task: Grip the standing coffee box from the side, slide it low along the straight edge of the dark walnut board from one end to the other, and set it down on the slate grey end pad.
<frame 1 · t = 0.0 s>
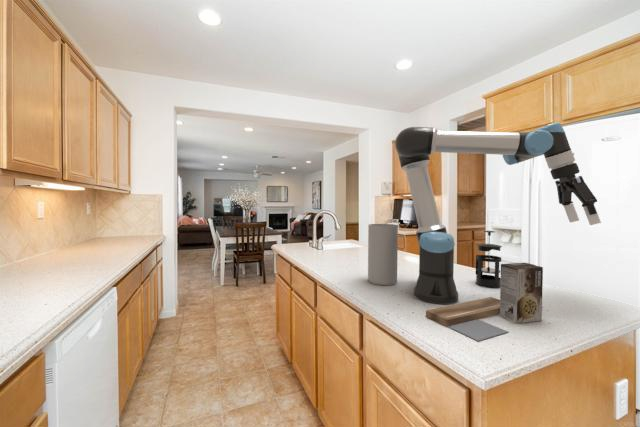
hand: (584, 222, 101), 28 cm above the worktop, tool tilted 20°, fingers open, 13 cm apart
walnut board: (471, 313, 90), on the worktop
coffee box: (519, 318, 87), on the worktop
cylinder vase: (382, 282, 126), on the worktop
french press: (487, 285, 122), on the worktop
end pad: (477, 330, 78), on the worktop
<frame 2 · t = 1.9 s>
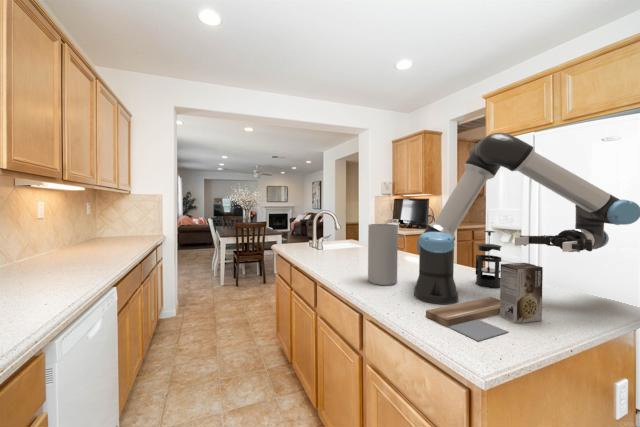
hand: (538, 244, 90), 22 cm above the worktop, tool horizontal, fingers open, 13 cm apart
nothing on the worktop moved.
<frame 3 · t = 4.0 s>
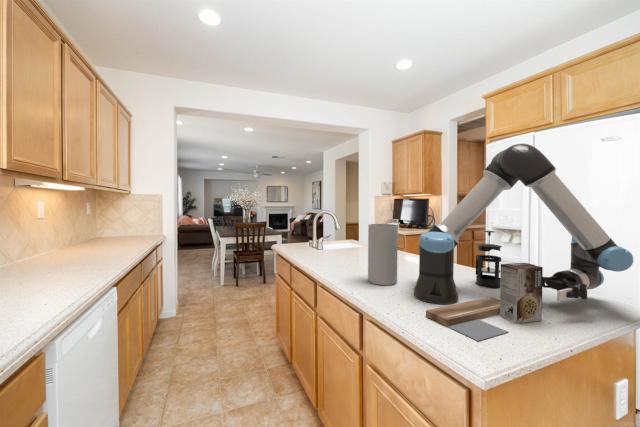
hand: (532, 289, 89), 8 cm above the worktop, tool horizontal, fingers open, 13 cm apart
nothing on the worktop moved.
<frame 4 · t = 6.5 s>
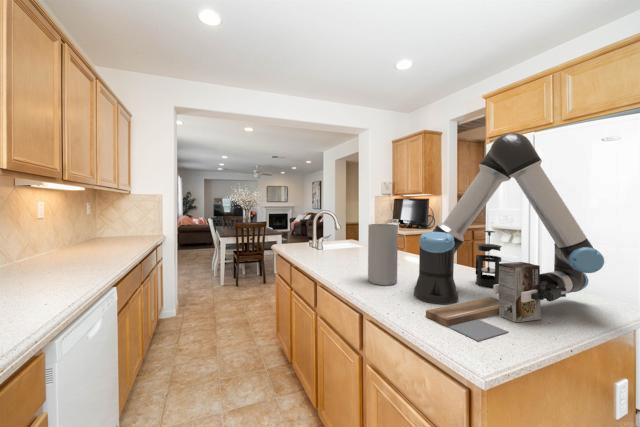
hand: (508, 293, 85), 8 cm above the worktop, tool horizontal, fingers closed on coffee box, 7 cm apart
coffee box: (519, 318, 87), on the worktop, touching gripper
everything else where it was.
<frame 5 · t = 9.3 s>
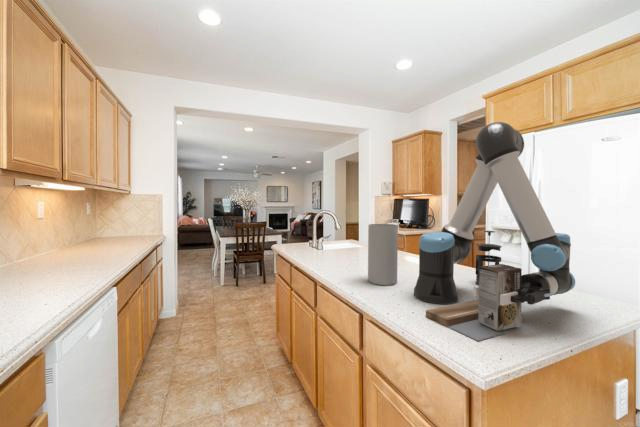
hand: (487, 295, 78), 9 cm above the worktop, tool horizontal, fingers closed on coffee box, 7 cm apart
coffee box: (499, 325, 80), on the worktop, touching gripper
everything else where it was.
when the fingers open (9 cm above the worktop, at t = 11.3 s): coffee box stays where it is, resting on end pad.
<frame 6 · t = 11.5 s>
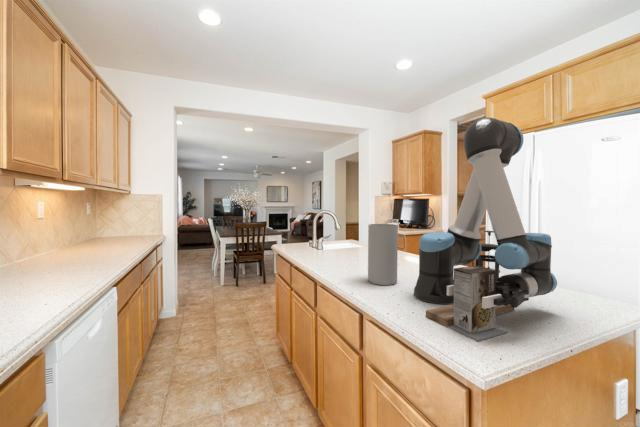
hand: (464, 296, 77), 9 cm above the worktop, tool horizontal, fingers open, 10 cm apart
coffee box: (474, 327, 80), resting on end pad
everything else where it was.
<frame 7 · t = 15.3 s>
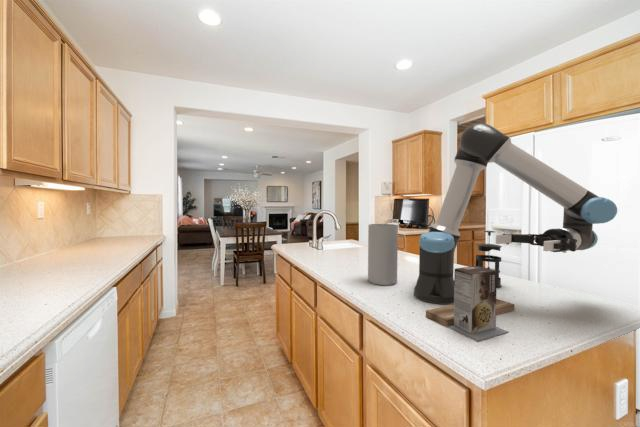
hand: (519, 242, 85), 23 cm above the worktop, tool horizontal, fingers open, 13 cm apart
nothing on the worktop moved.
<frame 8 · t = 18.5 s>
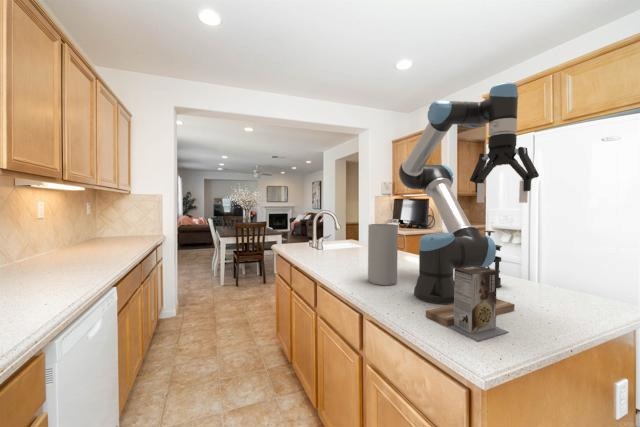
hand: (500, 202, 91), 35 cm above the worktop, tool pointing down, fingers open, 13 cm apart
nothing on the worktop moved.
at the end: coffee box 0.8 cm from the target spot, resting on end pad; coffee box tilted 0°; the gripper is holding nothing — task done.
